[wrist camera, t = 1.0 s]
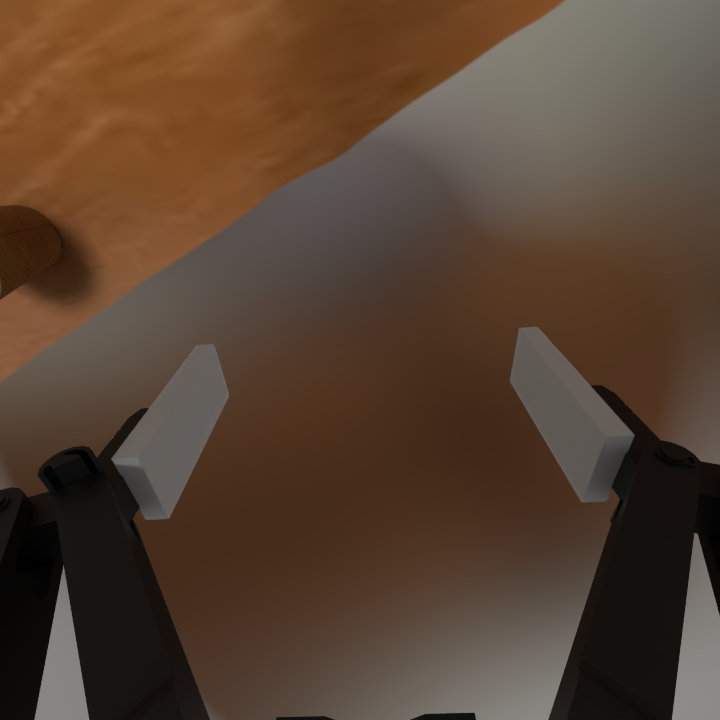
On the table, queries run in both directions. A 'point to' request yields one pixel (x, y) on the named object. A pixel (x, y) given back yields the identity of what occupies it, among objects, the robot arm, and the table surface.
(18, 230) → the disposable coffee cup
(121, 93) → the table surface
